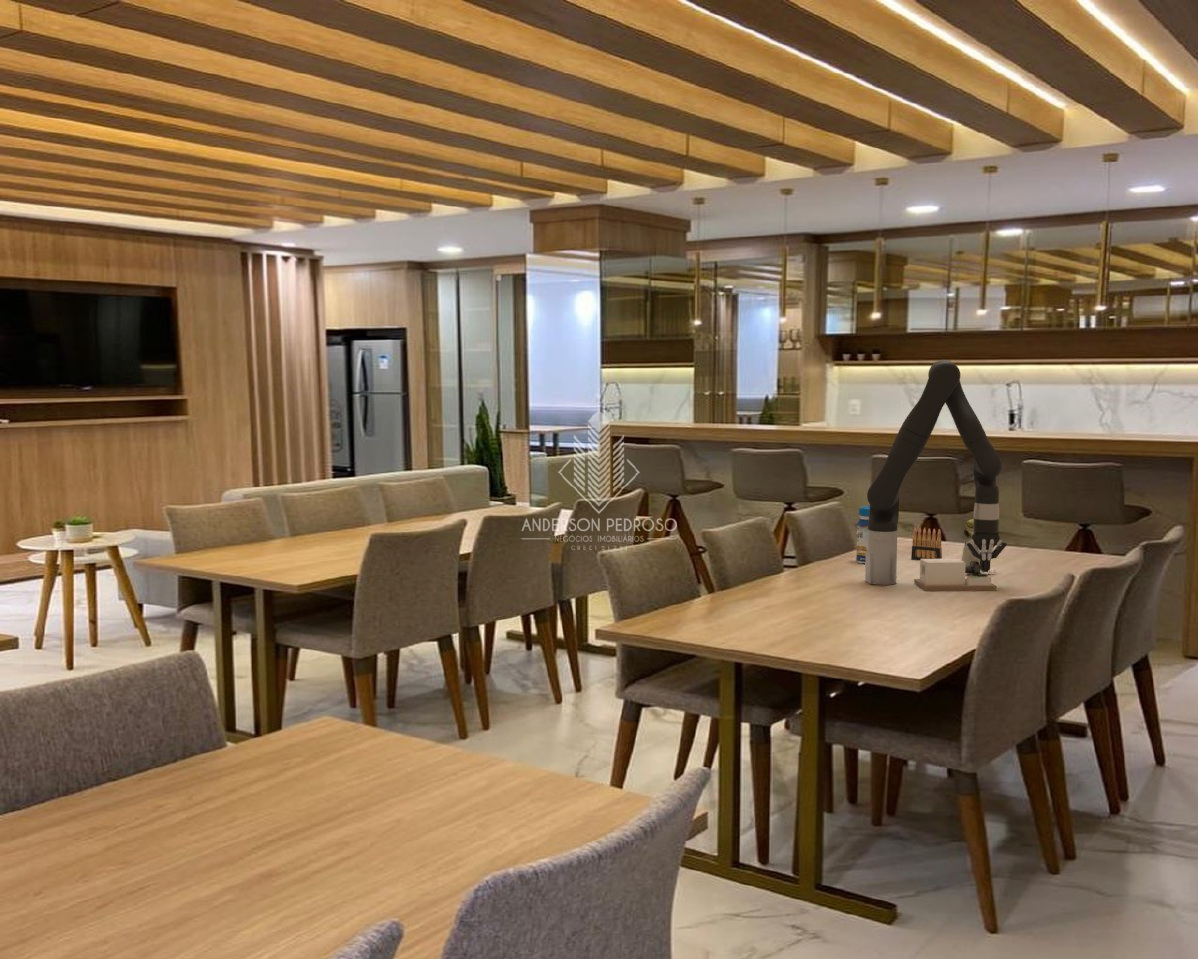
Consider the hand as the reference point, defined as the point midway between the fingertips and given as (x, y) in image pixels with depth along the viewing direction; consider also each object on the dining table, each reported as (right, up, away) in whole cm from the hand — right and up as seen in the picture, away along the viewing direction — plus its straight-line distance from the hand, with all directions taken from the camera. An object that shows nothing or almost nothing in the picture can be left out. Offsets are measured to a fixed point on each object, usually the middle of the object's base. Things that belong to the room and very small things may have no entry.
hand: (984, 571), depth 332 cm
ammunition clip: (-3, -1, +49) cm, 49 cm away
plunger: (-9, -2, -1) cm, 10 cm away
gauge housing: (-9, -5, 0) cm, 11 cm away
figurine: (+6, -3, +24) cm, 25 cm away
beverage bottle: (-25, -1, +46) cm, 53 cm away
